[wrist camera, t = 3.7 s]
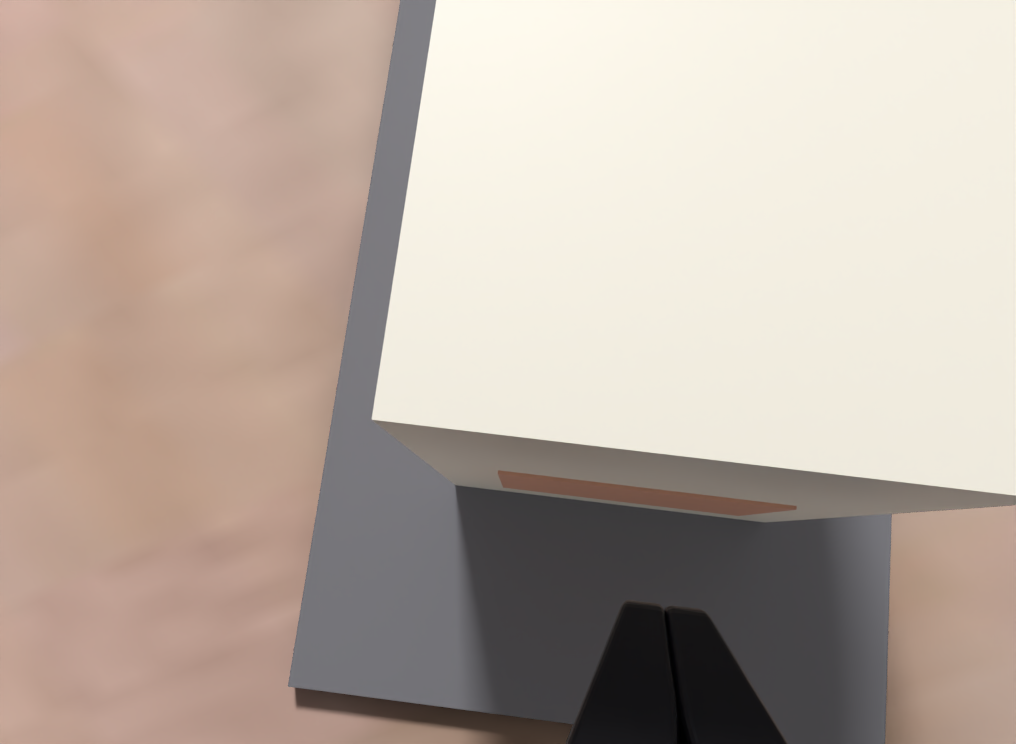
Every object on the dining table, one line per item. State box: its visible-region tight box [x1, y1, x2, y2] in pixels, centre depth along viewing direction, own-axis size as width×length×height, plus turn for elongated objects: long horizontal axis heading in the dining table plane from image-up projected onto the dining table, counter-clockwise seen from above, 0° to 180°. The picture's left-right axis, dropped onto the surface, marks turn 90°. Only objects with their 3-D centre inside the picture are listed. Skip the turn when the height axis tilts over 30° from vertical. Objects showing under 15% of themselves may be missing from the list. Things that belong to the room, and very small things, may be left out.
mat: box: [288, 0, 892, 744], centre depth 17 cm, size 19×11×1 cm, turn 173°
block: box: [372, 0, 1016, 522], centre depth 12 cm, size 6×6×9 cm
